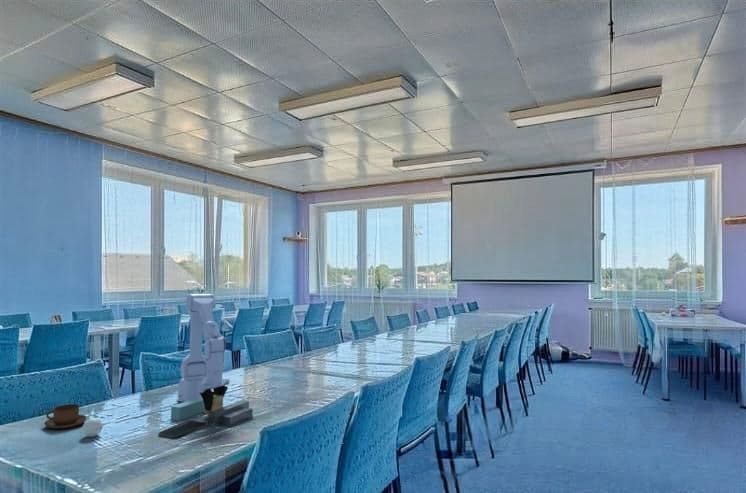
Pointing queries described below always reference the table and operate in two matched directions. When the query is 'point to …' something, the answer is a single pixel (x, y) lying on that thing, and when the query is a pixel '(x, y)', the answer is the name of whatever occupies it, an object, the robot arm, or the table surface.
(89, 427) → the white rounded piece
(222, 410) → the vise
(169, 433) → the phone
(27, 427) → the table surface
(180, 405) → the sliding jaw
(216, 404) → the oak block
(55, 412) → the cup and saucer
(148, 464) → the table surface
